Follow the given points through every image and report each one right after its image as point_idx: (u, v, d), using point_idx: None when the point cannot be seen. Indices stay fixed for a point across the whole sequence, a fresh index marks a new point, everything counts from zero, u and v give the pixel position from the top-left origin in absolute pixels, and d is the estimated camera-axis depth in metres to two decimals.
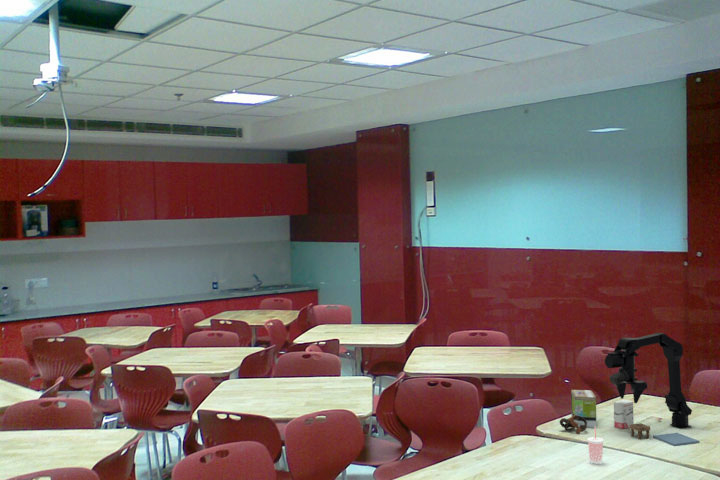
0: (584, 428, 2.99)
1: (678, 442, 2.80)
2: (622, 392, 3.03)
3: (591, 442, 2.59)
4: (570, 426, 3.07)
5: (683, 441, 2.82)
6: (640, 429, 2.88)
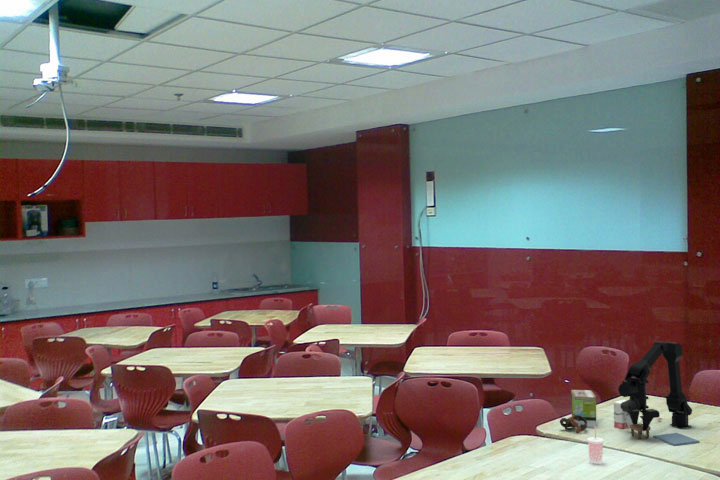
0: (584, 428, 3.00)
1: (678, 442, 2.80)
2: (635, 420, 2.95)
3: (591, 442, 2.59)
4: (570, 426, 3.08)
5: (683, 441, 2.82)
6: (640, 429, 2.88)
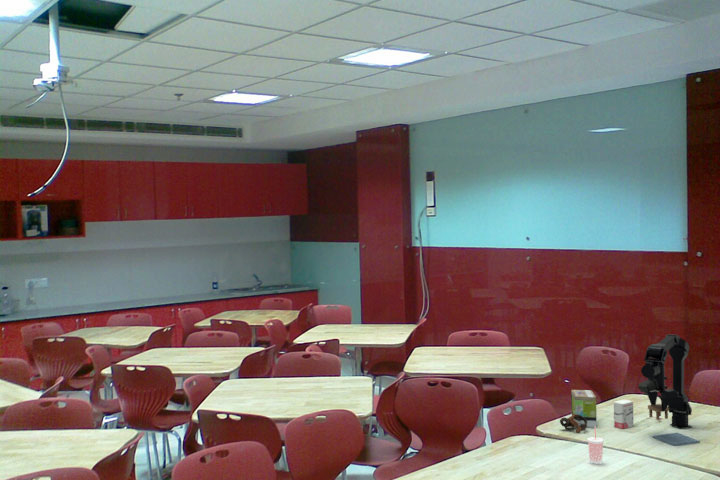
0: (584, 427, 3.00)
1: (678, 442, 2.80)
2: (654, 401, 2.92)
3: (591, 442, 2.59)
4: (570, 425, 3.09)
5: (683, 441, 2.82)
6: (658, 409, 2.86)
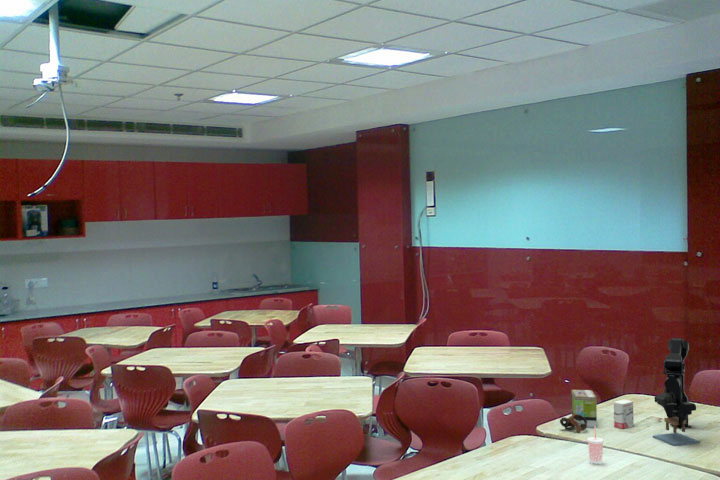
0: (584, 427, 3.01)
1: (678, 442, 2.80)
2: (670, 414, 2.90)
3: (591, 442, 2.59)
4: (570, 425, 3.09)
5: (683, 441, 2.82)
6: (676, 422, 2.83)
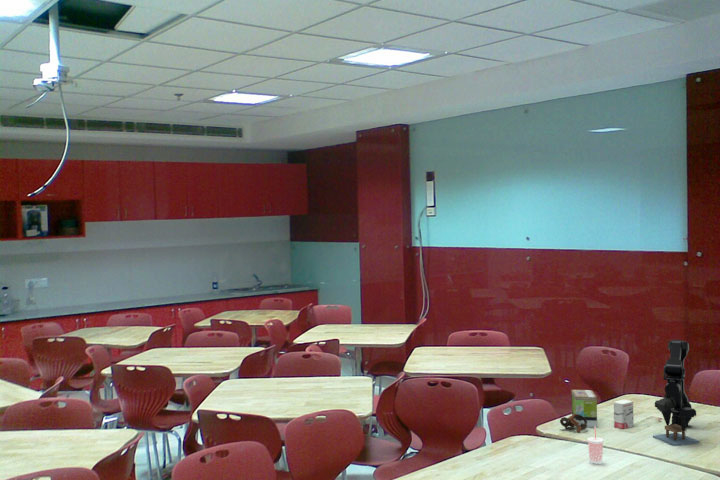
0: (584, 427, 3.01)
1: (678, 442, 2.80)
2: (668, 418, 2.91)
3: (591, 442, 2.59)
4: (570, 425, 3.09)
5: (683, 441, 2.82)
6: (676, 430, 2.83)
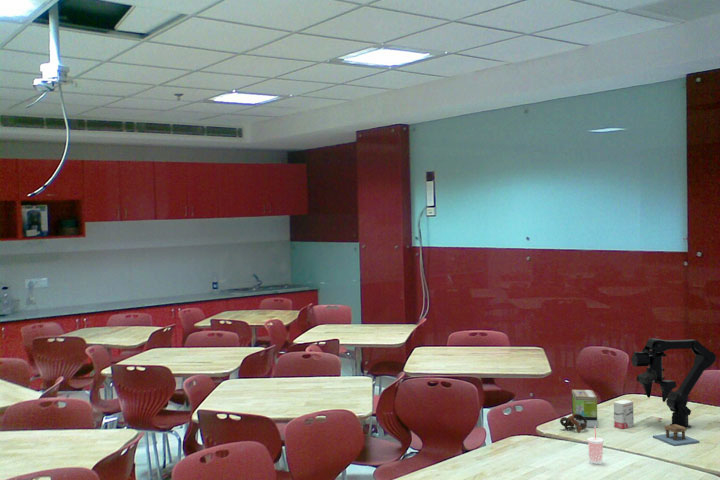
0: (584, 426, 3.02)
1: (678, 442, 2.80)
2: (649, 391, 3.10)
3: (591, 442, 2.59)
4: (569, 425, 3.10)
5: (683, 441, 2.82)
6: (676, 430, 2.83)
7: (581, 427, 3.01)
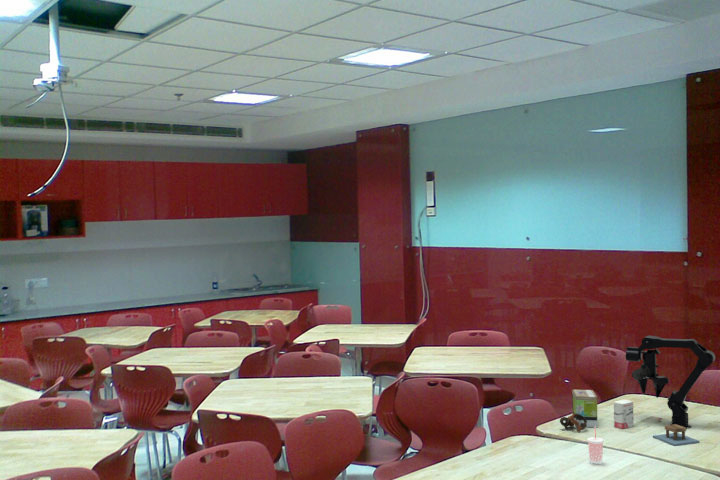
0: (584, 426, 3.02)
1: (678, 442, 2.80)
2: (644, 387, 3.19)
3: (591, 442, 2.59)
4: (569, 424, 3.10)
5: (683, 441, 2.82)
6: (676, 430, 2.83)
7: (581, 427, 3.01)
